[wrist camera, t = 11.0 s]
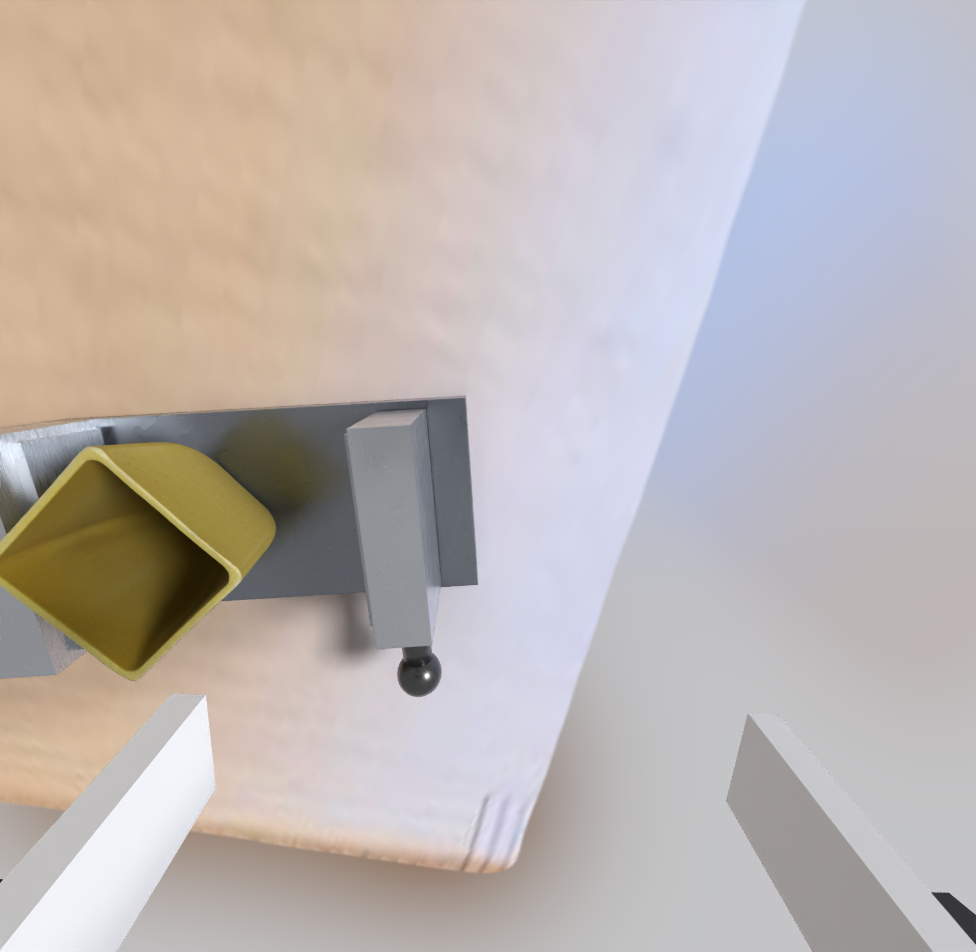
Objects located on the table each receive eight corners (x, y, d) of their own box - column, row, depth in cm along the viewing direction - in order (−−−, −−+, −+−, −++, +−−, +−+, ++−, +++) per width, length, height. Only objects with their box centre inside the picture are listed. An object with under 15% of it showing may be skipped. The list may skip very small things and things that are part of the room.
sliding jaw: (367, 412, 28) (333, 429, 21) (425, 408, 28) (410, 425, 21) (398, 658, 32) (378, 737, 26) (447, 654, 33) (440, 733, 26)
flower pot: (120, 506, 29) (-30, 569, 21) (206, 415, 28) (85, 442, 19) (227, 594, 31) (131, 686, 22) (312, 513, 30) (246, 577, 21)
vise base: (66, 418, 29) (-93, 443, 21) (465, 395, 30) (462, 410, 21) (119, 597, 33) (0, 678, 24) (477, 574, 33) (478, 646, 25)
